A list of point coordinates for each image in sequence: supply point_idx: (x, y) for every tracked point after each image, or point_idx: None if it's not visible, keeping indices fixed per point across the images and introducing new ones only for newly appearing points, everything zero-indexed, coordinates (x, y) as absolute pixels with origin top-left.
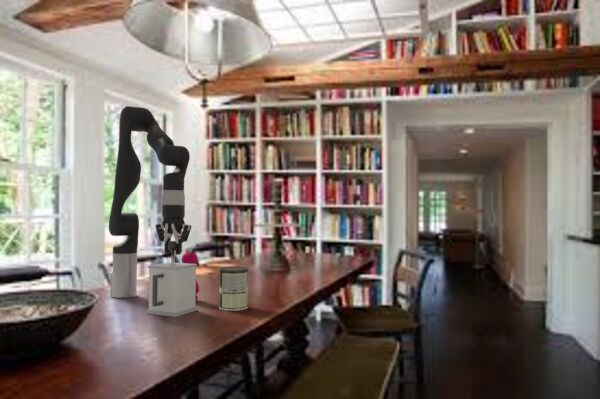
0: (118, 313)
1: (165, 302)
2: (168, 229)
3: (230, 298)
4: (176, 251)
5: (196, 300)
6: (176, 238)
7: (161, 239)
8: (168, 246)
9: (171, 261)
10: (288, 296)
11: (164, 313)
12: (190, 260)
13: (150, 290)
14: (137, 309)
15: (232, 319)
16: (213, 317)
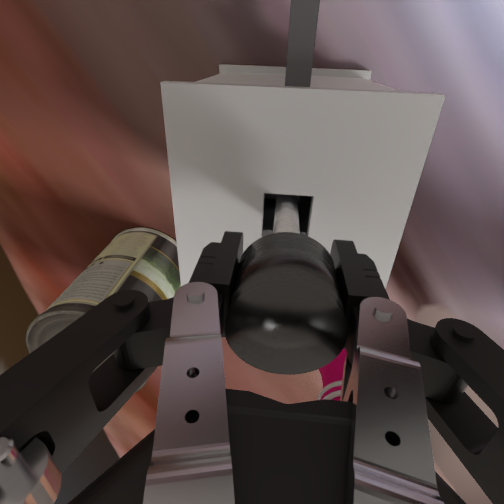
0: (498, 15)
1: (273, 76)
2: (348, 462)
3: (112, 248)
4: (224, 240)
5: None
6: (195, 323)
7: (447, 331)
8: (309, 256)
9: (291, 217)
10: (131, 409)
11: (275, 66)
12: None
13: (372, 84)
14: (446, 129)
15: (30, 117)
16: (102, 119)
